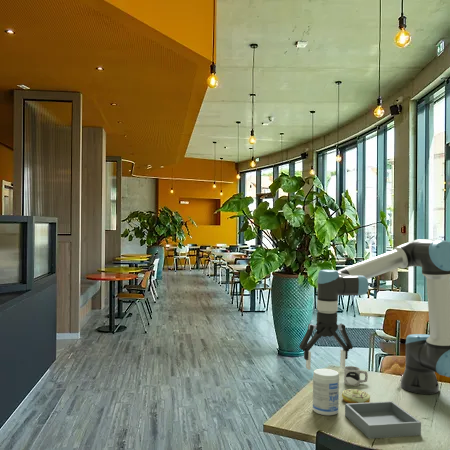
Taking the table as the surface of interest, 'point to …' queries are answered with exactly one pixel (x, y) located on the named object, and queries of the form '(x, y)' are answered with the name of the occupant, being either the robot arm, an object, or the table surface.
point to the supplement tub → (325, 391)
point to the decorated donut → (355, 396)
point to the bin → (382, 419)
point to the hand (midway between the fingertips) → (325, 368)
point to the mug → (353, 376)
